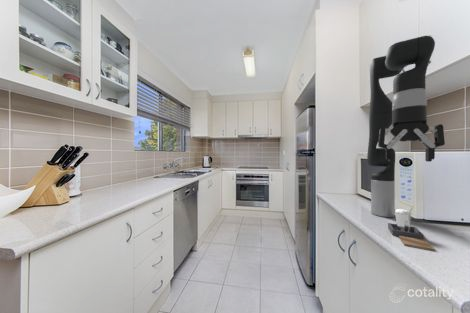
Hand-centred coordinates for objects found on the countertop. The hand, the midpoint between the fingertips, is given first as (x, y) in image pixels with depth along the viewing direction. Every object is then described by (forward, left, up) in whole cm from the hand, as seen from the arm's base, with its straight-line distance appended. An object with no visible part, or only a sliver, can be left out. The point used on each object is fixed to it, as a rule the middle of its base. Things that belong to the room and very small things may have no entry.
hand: (408, 161), depth 55 cm
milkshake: (-17, +3, -28) cm, 33 cm away
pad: (-9, +4, -27) cm, 29 cm away
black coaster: (-17, +3, -27) cm, 32 cm away
